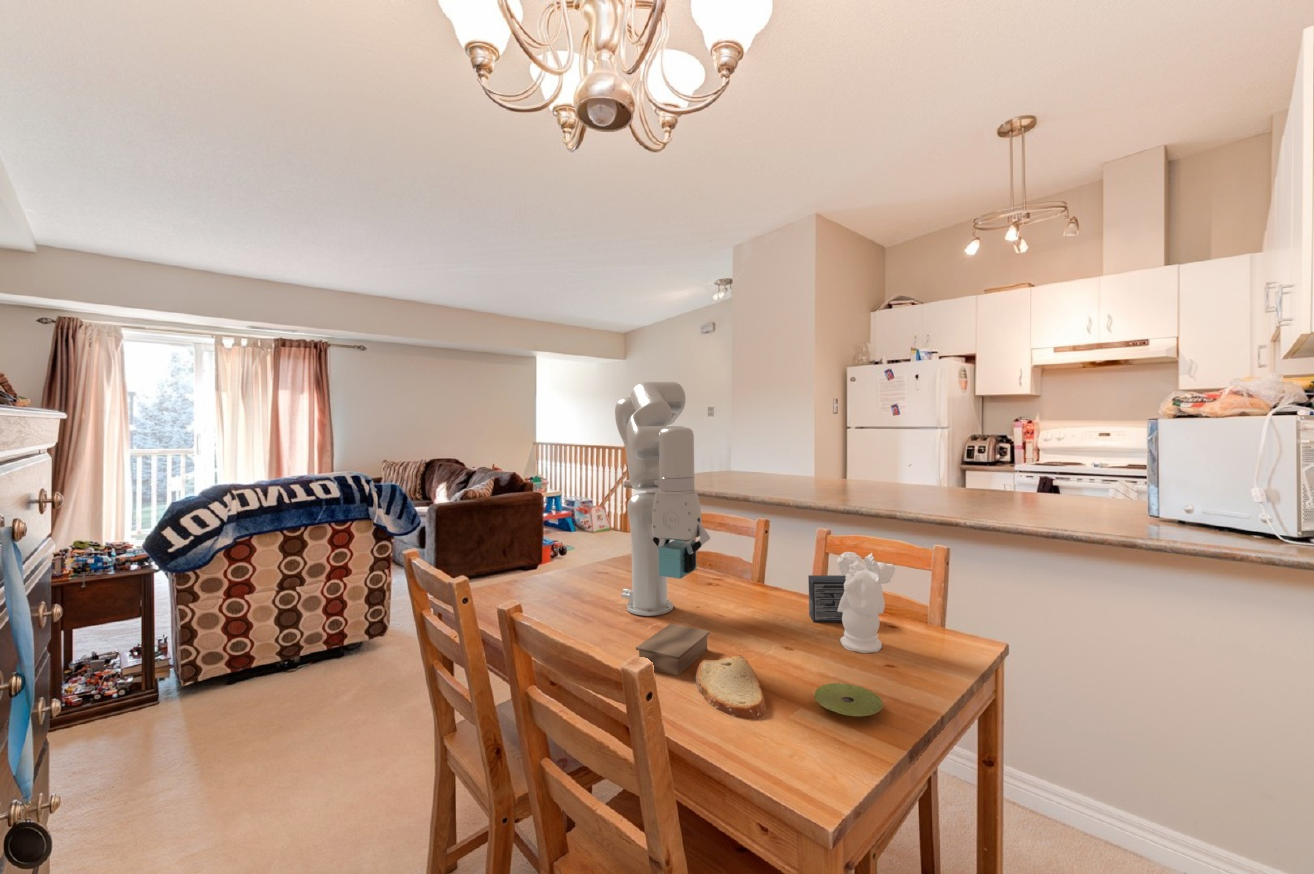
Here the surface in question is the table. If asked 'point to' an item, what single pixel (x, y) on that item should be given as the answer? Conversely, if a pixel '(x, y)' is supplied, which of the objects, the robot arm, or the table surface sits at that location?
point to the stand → (674, 648)
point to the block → (673, 559)
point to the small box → (825, 597)
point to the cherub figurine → (862, 601)
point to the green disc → (848, 699)
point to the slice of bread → (731, 687)
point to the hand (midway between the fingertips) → (678, 568)
